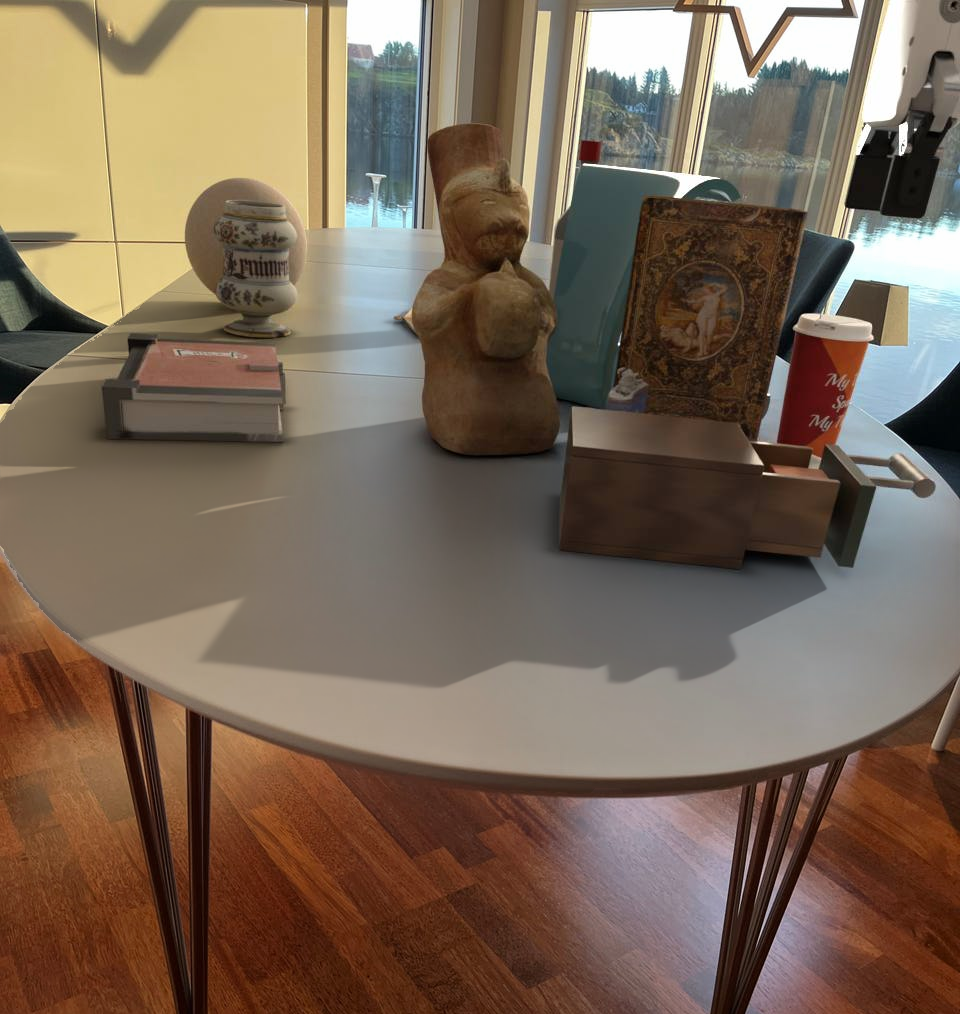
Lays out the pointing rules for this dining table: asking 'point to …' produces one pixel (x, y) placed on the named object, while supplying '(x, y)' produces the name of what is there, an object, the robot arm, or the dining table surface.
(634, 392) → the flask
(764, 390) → the book
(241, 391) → the book
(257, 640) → the dining table surface
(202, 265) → the decorative sphere
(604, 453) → the cabinet
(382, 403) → the dining table surface
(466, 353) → the ceramic vessel
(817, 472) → the block
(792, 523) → the drawer
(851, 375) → the coffee cup
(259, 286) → the apothecary jar
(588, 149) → the liquor
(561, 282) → the curved teal holder
